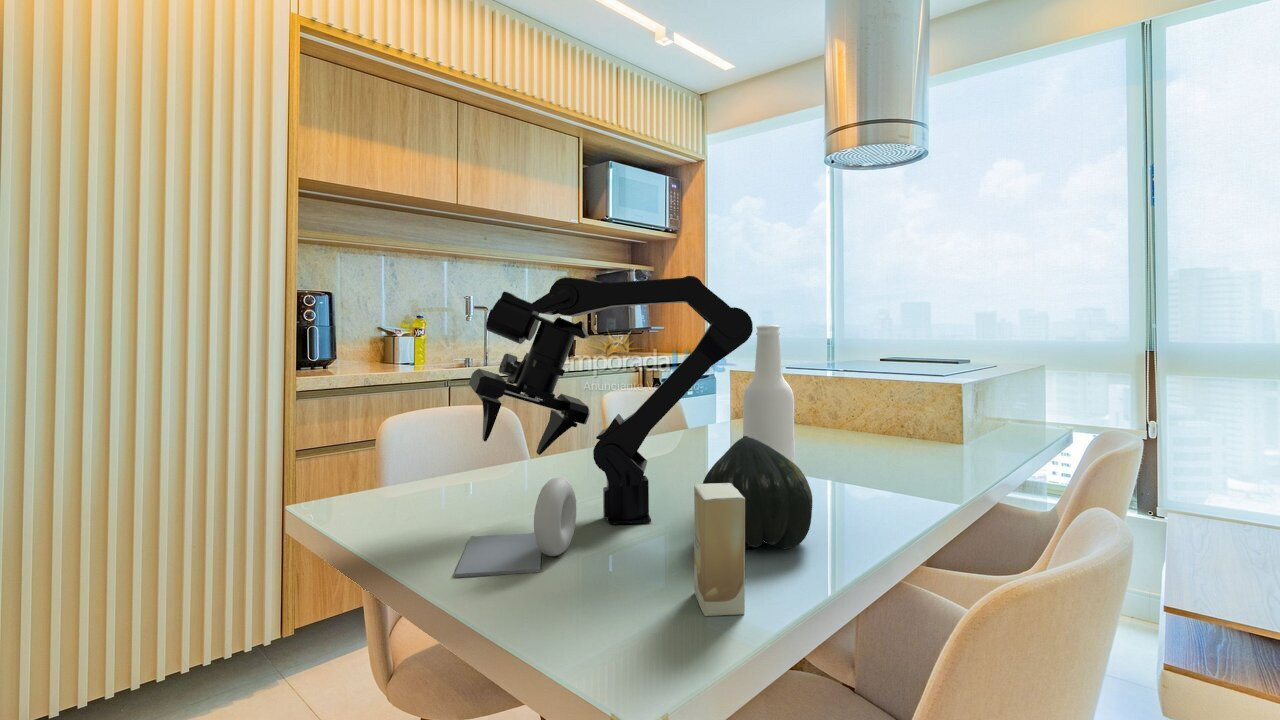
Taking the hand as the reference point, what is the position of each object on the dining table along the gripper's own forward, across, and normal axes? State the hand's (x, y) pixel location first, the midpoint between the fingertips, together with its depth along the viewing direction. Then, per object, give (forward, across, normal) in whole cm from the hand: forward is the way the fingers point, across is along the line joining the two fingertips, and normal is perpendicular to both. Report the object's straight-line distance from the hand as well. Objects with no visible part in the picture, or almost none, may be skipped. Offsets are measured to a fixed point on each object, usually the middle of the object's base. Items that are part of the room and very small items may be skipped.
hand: (511, 447), depth 97 cm
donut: (+6, -3, +21) cm, 22 cm away
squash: (-4, -27, +29) cm, 40 cm away
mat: (+9, +3, +18) cm, 20 cm away
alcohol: (-6, -44, +11) cm, 46 cm away
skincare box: (-1, -12, +43) cm, 44 cm away
